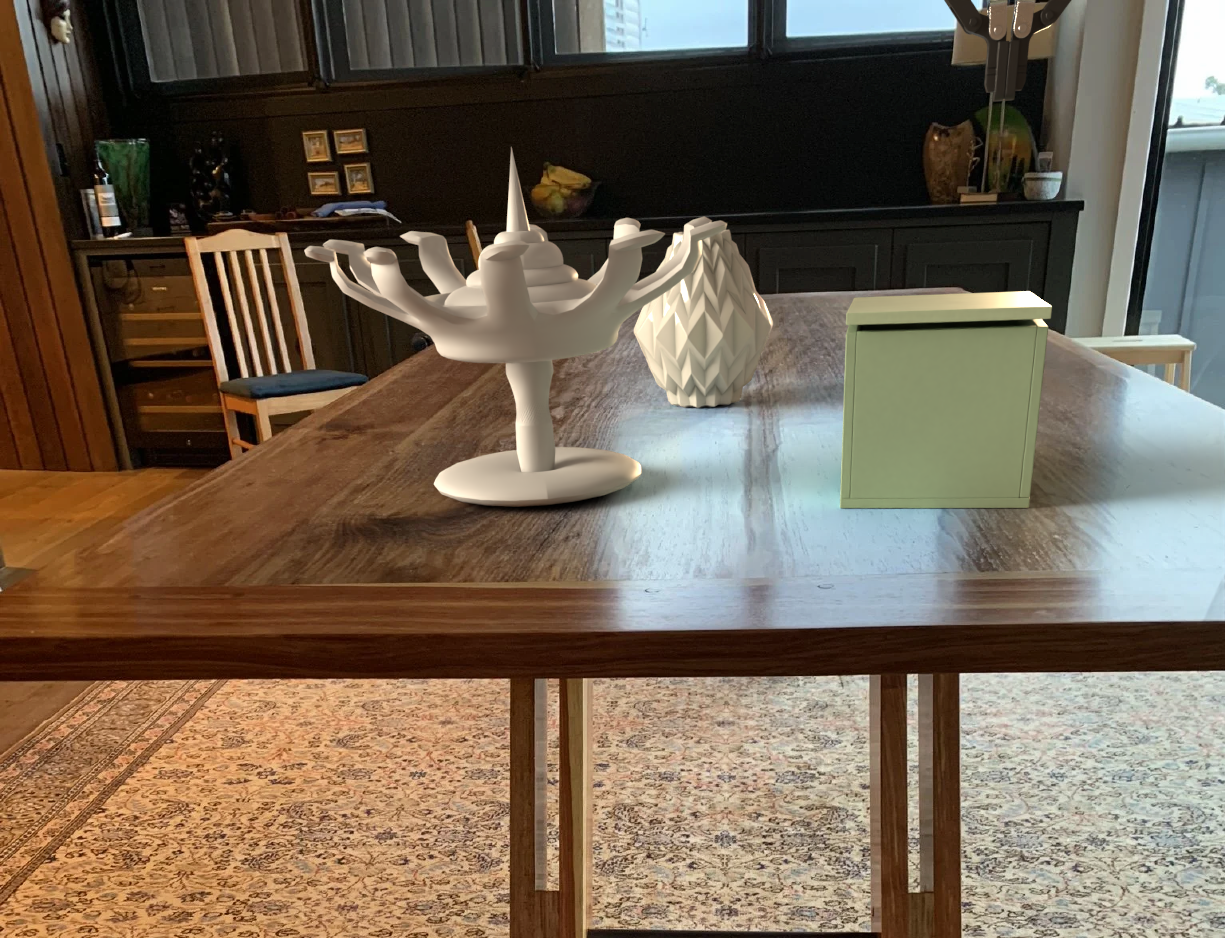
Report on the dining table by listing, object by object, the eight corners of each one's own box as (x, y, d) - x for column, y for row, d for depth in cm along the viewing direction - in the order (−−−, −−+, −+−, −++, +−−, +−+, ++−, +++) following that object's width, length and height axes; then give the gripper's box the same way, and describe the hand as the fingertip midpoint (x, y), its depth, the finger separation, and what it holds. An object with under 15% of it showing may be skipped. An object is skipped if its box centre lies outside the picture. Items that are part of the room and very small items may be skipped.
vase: (738, 417, 135) (737, 234, 127) (612, 411, 143) (603, 238, 134) (795, 393, 147) (797, 224, 139) (675, 389, 155) (671, 228, 146)
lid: (1050, 318, 88) (1052, 306, 87) (845, 325, 91) (846, 313, 90) (1028, 302, 103) (1029, 291, 102) (853, 308, 106) (854, 297, 105)
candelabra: (413, 451, 128) (375, 158, 115) (745, 444, 122) (744, 135, 109) (281, 540, 98) (211, 160, 86) (711, 537, 92) (704, 127, 79)
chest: (1029, 508, 95) (1048, 326, 89) (839, 508, 98) (845, 332, 92) (1012, 462, 109) (1028, 302, 103) (847, 463, 112) (853, 308, 106)
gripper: (1122, -193, 84) (1089, 96, 92) (926, -172, 87) (910, 108, 95) (1142, -222, 78) (1104, 92, 86) (929, -198, 80) (912, 105, 88)
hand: (1002, 100), depth 90 cm, fingers closed
